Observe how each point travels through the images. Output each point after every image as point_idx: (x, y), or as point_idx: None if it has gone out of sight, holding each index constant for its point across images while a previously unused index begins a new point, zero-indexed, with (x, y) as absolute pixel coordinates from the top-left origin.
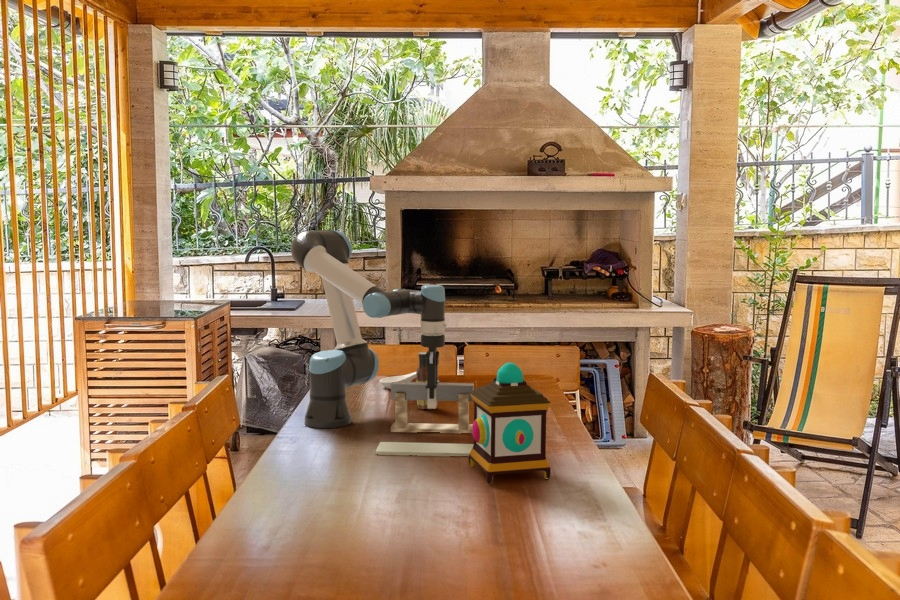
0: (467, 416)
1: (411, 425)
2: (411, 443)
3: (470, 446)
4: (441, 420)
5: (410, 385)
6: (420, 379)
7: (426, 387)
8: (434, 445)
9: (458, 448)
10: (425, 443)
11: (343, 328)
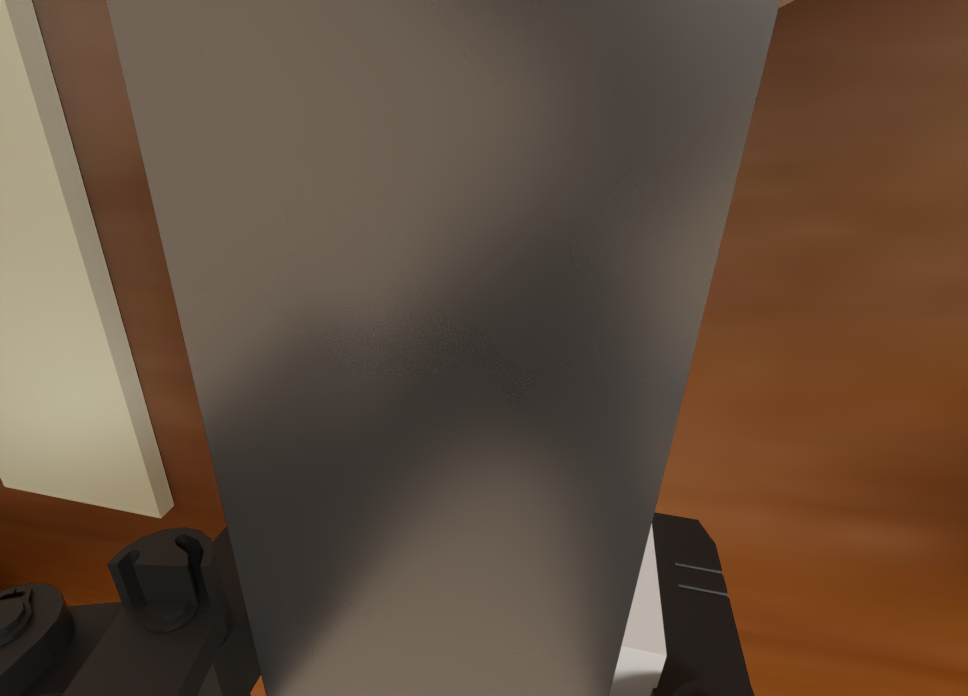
0: None
1: None
2: (28, 145)
3: (112, 495)
4: (901, 401)
5: (160, 127)
6: None
7: (138, 563)
8: (51, 310)
9: (53, 435)
10: (69, 252)
11: None
